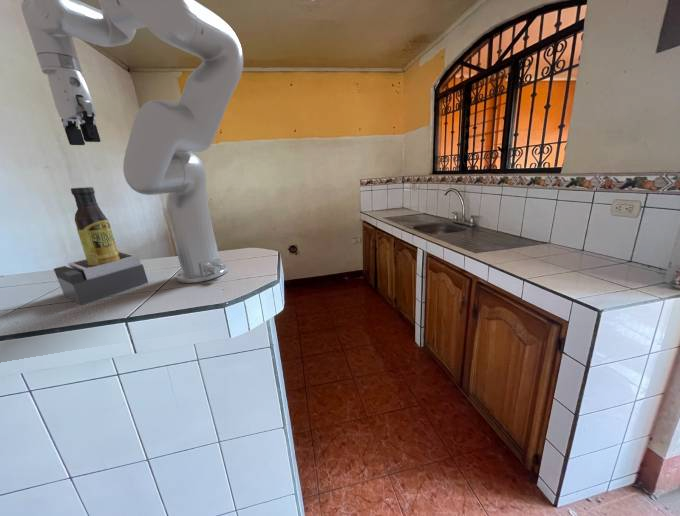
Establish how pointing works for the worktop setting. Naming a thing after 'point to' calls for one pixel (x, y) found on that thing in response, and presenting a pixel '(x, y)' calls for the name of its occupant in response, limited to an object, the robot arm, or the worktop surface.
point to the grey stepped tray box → (100, 278)
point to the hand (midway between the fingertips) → (85, 143)
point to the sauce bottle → (93, 228)
